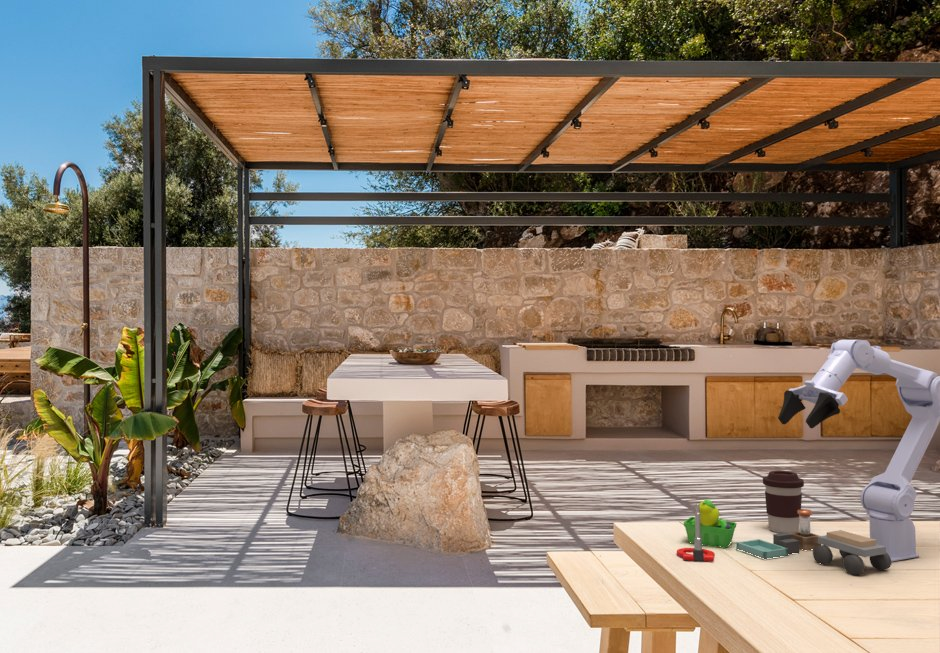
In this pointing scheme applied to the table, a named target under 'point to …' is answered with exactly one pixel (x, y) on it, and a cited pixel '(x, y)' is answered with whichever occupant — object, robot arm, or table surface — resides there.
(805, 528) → the pin
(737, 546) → the tray
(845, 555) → the trolley
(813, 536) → the pin socket
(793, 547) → the block
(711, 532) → the fruit basket
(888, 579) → the table surface
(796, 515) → the coffee cup
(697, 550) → the tow hook
